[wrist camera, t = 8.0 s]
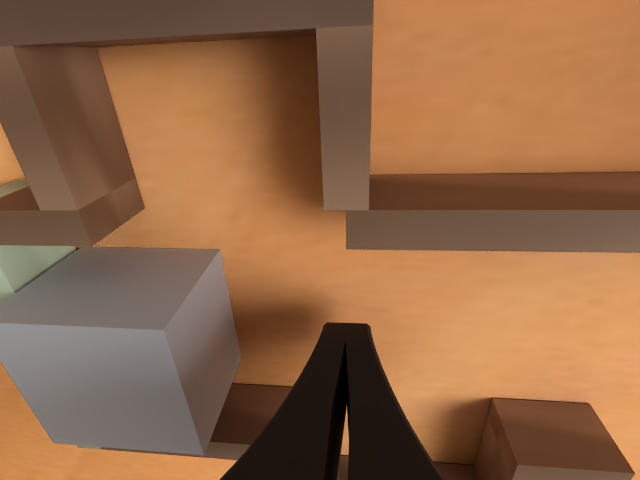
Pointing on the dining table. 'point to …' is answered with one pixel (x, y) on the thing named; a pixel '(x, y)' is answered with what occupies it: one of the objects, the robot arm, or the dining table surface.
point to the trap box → (338, 193)
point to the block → (125, 347)
